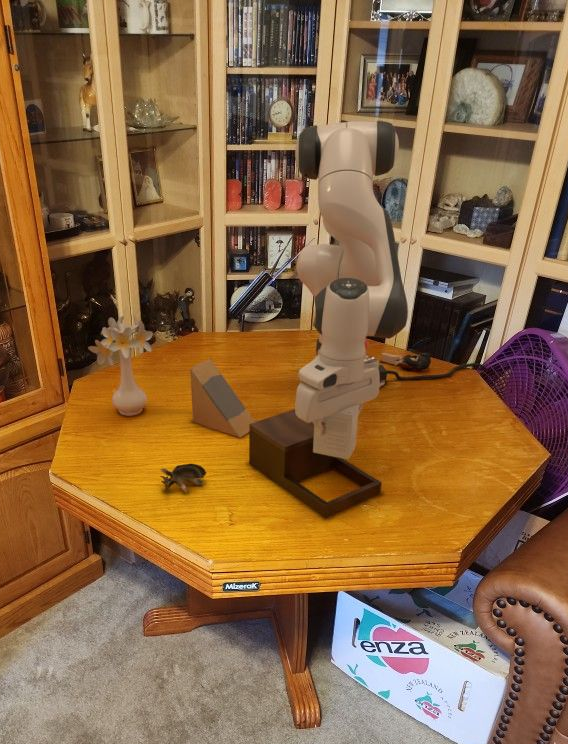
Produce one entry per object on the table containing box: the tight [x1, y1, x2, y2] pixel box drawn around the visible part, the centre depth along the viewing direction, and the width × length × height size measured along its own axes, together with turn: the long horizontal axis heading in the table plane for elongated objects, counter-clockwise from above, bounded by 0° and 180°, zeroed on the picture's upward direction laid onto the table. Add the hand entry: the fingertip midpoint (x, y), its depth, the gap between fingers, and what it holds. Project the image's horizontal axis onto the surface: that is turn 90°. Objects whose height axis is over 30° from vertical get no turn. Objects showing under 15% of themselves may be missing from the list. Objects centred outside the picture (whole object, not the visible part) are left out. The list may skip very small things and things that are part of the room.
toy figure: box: [381, 347, 432, 372], centre depth 203 cm, size 7×6×15 cm
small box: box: [313, 404, 360, 460], centre depth 138 cm, size 8×6×10 cm
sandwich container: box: [189, 358, 256, 438], centre depth 168 cm, size 9×15×15 cm, turn 56°
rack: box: [248, 408, 383, 519], centre depth 148 cm, size 16×27×10 cm, turn 36°
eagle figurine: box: [159, 463, 207, 494], centre depth 145 cm, size 8×7×9 cm
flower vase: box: [87, 313, 154, 417], centre depth 171 cm, size 13×18×25 cm
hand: (336, 428), depth 138 cm, fingers closed on small box, 7 cm apart
